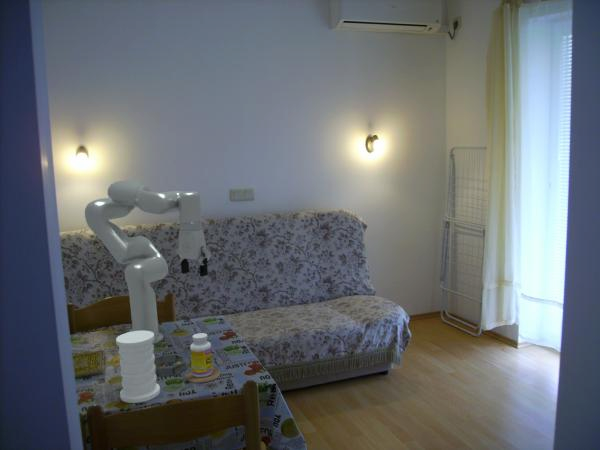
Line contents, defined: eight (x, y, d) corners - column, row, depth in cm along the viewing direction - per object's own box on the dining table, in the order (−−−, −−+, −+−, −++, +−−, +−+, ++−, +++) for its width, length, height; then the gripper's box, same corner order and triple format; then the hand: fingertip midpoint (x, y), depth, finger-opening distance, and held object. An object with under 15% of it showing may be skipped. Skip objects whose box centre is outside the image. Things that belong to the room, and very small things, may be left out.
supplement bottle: (208, 378, 169) (205, 339, 167) (188, 377, 170) (185, 338, 169) (216, 370, 176) (213, 332, 174) (196, 369, 177) (194, 331, 175)
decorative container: (126, 386, 167) (120, 331, 165) (163, 384, 168) (159, 329, 165) (115, 404, 156) (109, 344, 153) (155, 401, 156) (150, 342, 154)
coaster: (178, 378, 172) (178, 376, 172) (204, 366, 180) (204, 364, 180) (202, 386, 165) (202, 384, 165) (227, 373, 174) (227, 371, 174)
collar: (141, 370, 179) (140, 361, 179) (170, 358, 189) (170, 349, 188) (165, 379, 172) (164, 369, 171) (194, 365, 181) (194, 356, 181)
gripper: (166, 226, 191) (170, 273, 194) (199, 229, 181) (203, 279, 183) (183, 224, 197) (186, 269, 200) (216, 226, 187) (219, 274, 189)
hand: (194, 274), depth 191 cm, fingers open, 9 cm apart
